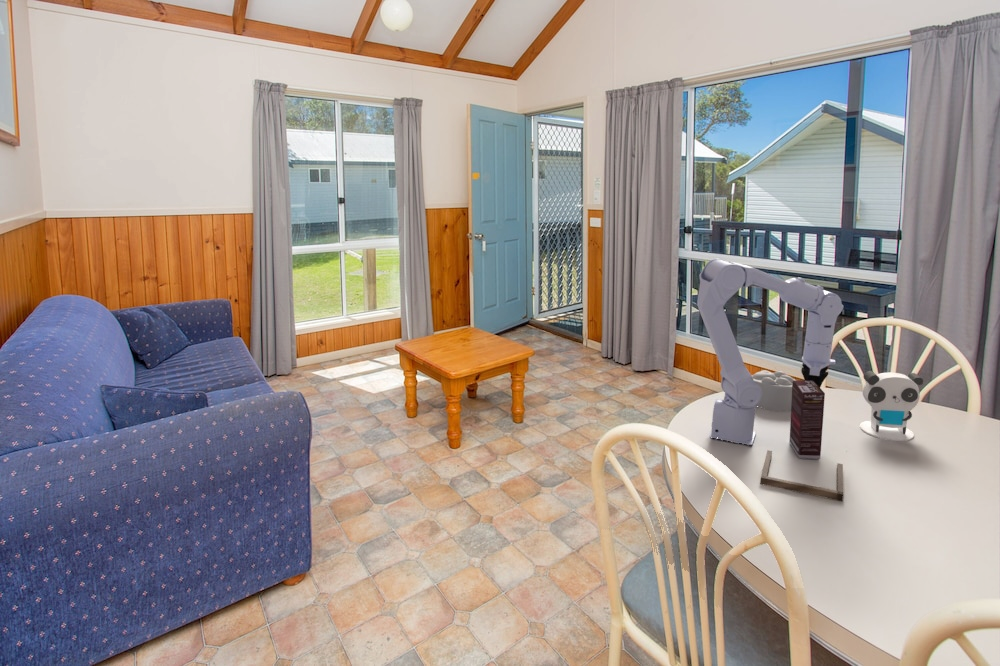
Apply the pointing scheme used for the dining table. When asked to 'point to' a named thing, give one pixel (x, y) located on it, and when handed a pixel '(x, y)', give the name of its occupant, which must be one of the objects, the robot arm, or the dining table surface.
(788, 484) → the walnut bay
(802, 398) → the supplement box
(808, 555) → the dining table surface
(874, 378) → the panda figurine
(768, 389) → the lumpy-topped squat cylinder
